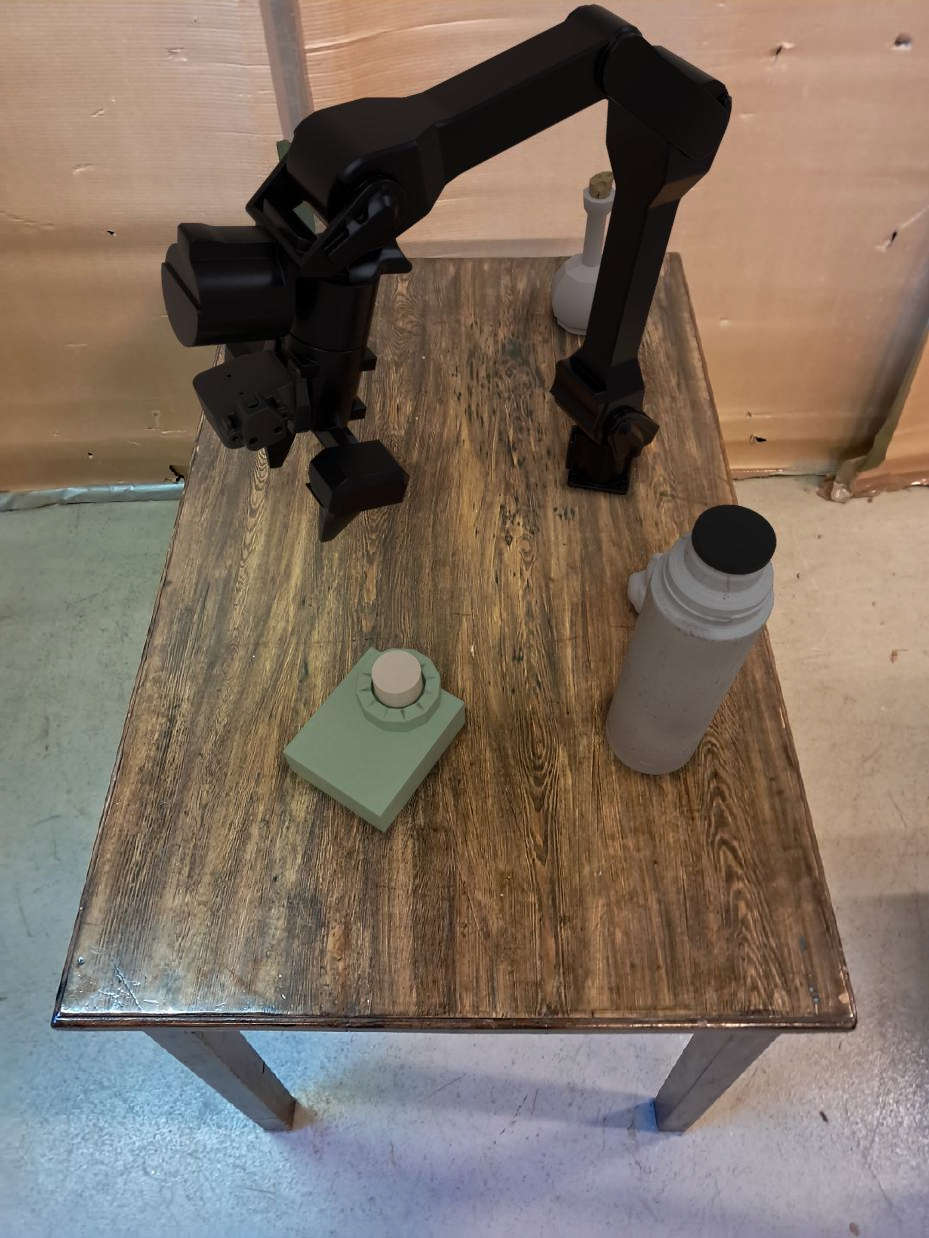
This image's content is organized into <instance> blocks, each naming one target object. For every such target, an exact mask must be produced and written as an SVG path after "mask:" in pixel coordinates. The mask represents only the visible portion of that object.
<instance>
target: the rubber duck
mask: <svg viewBox="0 0 929 1238" xmlns="http://www.w3.org/2000/svg"><path fill="white" fill-rule="evenodd" d="M664 553H665V552H655V553H653V554H652V555H651V557H650V560H649V561H648V562H647V566H646V569H644V570H641V571H637V572H633V573H632V574H631V575H630V576H629V578H628V583H627V597H628V600H629V601H630V603H631V604H632V605H633V607H634V610H635V612H636V613H638V614H639V613H640V610H641V608H642V605H643V601H644V598H645V594H646V590H647V586H648V582H649V579H650V576H651V573H652V570H653V568H654V566H655V564H656V562H657V561H658V559H659V558H660V557H661V556H662V555H663V554H664Z"/></svg>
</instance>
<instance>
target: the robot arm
mask: <svg viewBox="0 0 929 1238" xmlns="http://www.w3.org/2000/svg"><path fill="white" fill-rule="evenodd" d="M604 100H606V101H607V111H606V126H605V147H606V151H607V155H608V159H609V164H610V169H611V172H612V173H613V177H614V180H613V182H614V187H615V188H614V190H615V196H614V200H613V205H612V210H611V212H610V215H609V220H608V225H607V230H606V235H605V239H604V243H603V248H602V253H601V255H602V258H601V263H600V268H599V273H598V277H597V282H596V287H595V292H594V297H593V301H592V306H591V311H590V316H589V321H588V325H587V330H586V335H584V340H583V343H582V345H581V346H579V347H578V348H577V349H576V350H575V351H574V352H572V353H571V354H570V355H569V356H567V358H564V359H559V360H558V361H556V363H555V364H554V365H555V366H554V367H555V370H554V379H553V383H552V386H551V387H550V388H549V393H550V394H551V395H552V396H553V400H554V403H555V404H556V405H557V407H559V409H560V410H561V411H562V412H564V414H566V416H567V417H569V419H570V420H572V422H574V424H572V425H571V426H570V431H569V437H568V441H567V449H566V455H565V464H564V468H565V470H568V473H567V479H566V485H567V486H568V487H569V488H575V489H583V490H590V491H597V492H602V493H610V494H614V495H615V494H616V495H627V494H628V493H629V488H630V480H631V475H632V474H631V473H632V466H633V462H634V458H635V459H636V458H638V457H640V456H641V455H642V451H643V449H644V448H645V447H647V446H649V445H651V444H652V443H653V441H654V439H655V437H656V436H657V434H658V432H659V430H660V428H661V427H660V425H659V424H658V423H657V422H656V421H655V420H654V419H653V418H652V417H650V415H648V414H647V413H646V412H645V411H644V410H643V406H644V400H645V393H646V384H645V380H644V375H643V372H642V367H641V364H640V359H639V350H640V347H641V344H642V339H643V337H644V332H645V328H646V325H647V322H648V318H649V316H650V315H649V314H650V311H651V308H652V307H651V306H652V304H653V300H654V295H655V293H656V289H657V285H658V282H659V278H660V275H661V270H662V267H663V263H664V260H665V256H666V252H667V248H668V245H669V241H670V237H671V234H672V230H673V227H674V223H675V219H676V217H677V213H678V209H679V205H680V202H681V200H682V199H683V197H684V196H685V195H687V193H689V192H690V191H691V190H692V189H693V188H694V187H695V186H696V185H697V184H698V183H699V182H700V181H701V180H702V179H703V178H704V177H705V176H706V175H707V174H708V173H709V172H710V170H711V168H712V166H713V163H714V161H715V159H716V156H717V154H718V150H719V148H720V146H721V145H722V141H723V139H724V137H725V134H726V131H727V129H728V126H729V124H730V120H731V115H732V109H733V97H732V95H730V94H729V91H728V89H727V86H726V83H725V84H724V83H723V82H722V81H721V80H719V79H717V78H715V77H714V76H712V75H711V74H709V73H707V72H705V71H704V70H703V69H701V68H699V67H698V66H696V65H694V64H692V63H691V62H689V61H688V60H686V59H684V58H683V57H681V56H679V55H677V54H676V53H674V52H672V51H671V50H669V49H667V48H666V47H664V46H662V45H659V44H658V45H657V44H656V45H655V44H654V45H652V44H651V43H650V42H649V41H648V40H647V39H646V38H645V37H644V36H643V33H642V32H641V30H640V29H639V28H638V27H637V26H635V24H632V23H631V22H629V21H627V20H625V19H624V18H622V17H621V16H618V15H617V14H615V13H614V12H613V11H610V10H609V9H607V8H606V7H604V6H602V5H599V4H596V3H592V4H582V5H578V6H577V7H575V8H574V9H573V10H572V11H571V12H569V13H568V15H567V16H566V18H565V19H564V20H563V21H562V22H559V23H557V24H555V25H554V26H552V27H549V28H548V29H546V30H543V31H542V32H540V33H538V34H535V35H533V36H531V37H530V38H527V39H525V40H524V41H522V42H520V43H517V44H516V45H514V46H512V47H509V48H507V49H505V50H502V51H501V52H500V53H497V54H495V55H493V56H492V57H490V58H488V59H485V60H483V61H482V62H480V63H477V64H476V65H474V66H471V67H469V68H467V69H466V70H464V71H462V72H459V73H457V74H455V75H453V76H451V77H450V78H447V79H445V80H444V81H442V82H440V83H438V84H435V85H433V86H432V87H430V88H428V89H426V90H424V91H421V92H418V93H414V94H411V95H407V96H364V97H360V98H357V99H353V100H349V101H346V102H343V103H339V104H335V105H331V106H326V107H324V108H320V109H317V110H315V111H313V112H311V113H310V114H308V116H306V117H304V118H303V119H302V120H301V121H300V122H299V123H298V124H297V126H296V127H295V128H294V130H293V138H292V140H291V143H290V145H289V147H288V150H287V151H286V152H285V154H284V155H283V156H282V158H281V159H280V160H279V161H278V163H277V164H276V165H275V167H274V168H273V169H272V171H271V172H270V173H269V174H268V176H267V177H266V178H265V179H264V180H263V182H262V183H261V184H260V186H259V187H258V189H257V190H256V191H255V192H254V194H253V195H252V196H251V197H250V199H249V200H248V201H247V202H246V204H245V207H244V209H245V212H246V213H247V214H248V216H249V217H250V218H251V219H252V220H253V222H255V223H254V225H211V224H207V223H203V222H180V223H179V224H178V225H177V226H176V227H177V231H176V242H174V243H171V244H170V245H169V246H168V248H167V250H166V253H165V258H164V262H161V263H160V266H161V267H160V280H161V289H162V298H163V302H164V307H165V311H166V314H167V318H168V321H169V324H170V326H171V329H172V331H173V334H174V335H175V337H176V339H177V341H178V342H179V343H180V344H181V345H182V346H183V347H185V348H188V349H189V348H201V347H210V346H211V347H212V346H223V345H224V347H225V348H224V360H223V361H224V362H222V363H220V364H218V365H215V366H212V367H211V368H208V369H205V370H203V371H201V372H199V373H197V374H196V375H195V376H194V377H193V379H192V383H191V384H192V387H193V389H194V391H195V395H196V397H197V399H198V401H199V405H200V407H201V410H202V412H203V414H204V417H205V419H206V421H207V423H208V424H210V426H211V428H212V429H213V431H214V432H215V434H216V435H217V437H218V439H219V440H220V442H221V444H222V445H223V446H224V447H225V448H227V449H229V450H239V449H242V448H246V449H247V450H248V451H250V452H258V451H261V450H264V454H265V457H266V463H267V466H268V468H269V469H270V470H274V469H280V468H282V467H283V465H284V463H285V461H286V459H287V457H288V456H289V454H290V452H291V449H292V447H293V444H294V442H295V440H296V437H297V435H299V434H304V433H308V432H310V431H311V433H312V434H313V436H314V437H315V438H316V439H317V441H318V442H319V443H320V444H321V446H322V447H323V448H322V449H321V450H320V451H319V452H318V453H317V454H315V456H314V457H312V458H311V459H310V460H309V464H308V470H307V475H308V479H309V482H305V483H304V485H305V487H306V488H307V490H308V491H309V492H310V494H311V495H312V496H313V498H314V500H315V501H316V502H317V504H318V519H317V521H318V522H317V523H318V525H317V531H318V532H317V534H318V541H319V542H320V543H321V544H324V543H328V542H332V541H334V540H335V538H337V537H338V535H339V534H340V533H342V531H344V530H345V529H346V528H347V526H349V524H350V523H352V522H353V520H355V519H356V518H357V517H358V516H359V515H360V514H361V513H362V512H367V511H371V510H375V509H380V508H384V507H385V508H386V507H389V506H390V507H391V506H394V505H398V504H402V503H404V500H405V498H406V494H407V491H408V487H409V485H410V479H411V475H410V474H409V473H408V471H406V469H405V468H404V466H403V465H402V464H401V463H400V461H399V460H398V459H397V457H395V456H394V454H393V452H391V450H390V449H389V448H388V446H386V444H384V443H383V442H382V441H381V440H380V439H379V438H376V439H371V440H366V441H360V440H359V438H358V437H357V436H356V434H355V433H354V431H353V430H352V429H351V428H350V427H349V426H348V425H349V422H352V421H359V420H365V419H366V416H367V415H366V414H367V409H368V406H367V405H366V404H365V402H364V401H363V400H362V399H361V397H359V396H358V393H359V388H360V383H361V378H362V373H363V372H371V371H376V367H377V362H378V356H377V355H376V354H375V352H373V350H372V349H371V348H370V347H369V345H368V342H369V337H370V333H371V327H372V324H373V323H372V322H373V318H374V312H375V308H376V304H377V303H376V302H377V297H378V292H379V287H380V282H381V278H382V276H384V275H385V276H386V275H403V274H405V275H406V274H409V273H411V272H412V271H413V263H412V261H410V260H409V259H408V257H406V255H405V253H404V252H403V251H402V249H401V247H400V246H399V243H398V241H397V238H399V237H400V236H401V235H403V234H404V233H405V232H407V231H408V230H409V229H411V228H412V227H413V226H414V225H416V224H418V223H419V222H421V221H422V220H423V219H424V218H425V217H427V216H428V215H429V214H430V212H431V211H432V209H433V208H434V206H435V204H436V203H437V201H438V199H440V198H439V197H440V196H441V195H442V193H443V191H444V189H445V187H446V186H447V185H448V184H449V183H451V182H453V181H454V180H455V179H456V178H458V177H459V176H460V175H462V174H463V173H466V172H468V171H469V170H472V169H473V168H475V167H477V166H479V165H481V164H483V163H485V162H487V161H489V160H491V159H492V158H495V157H496V156H498V155H500V154H502V153H504V152H506V151H508V150H510V149H512V148H514V147H516V146H518V145H519V144H522V143H523V142H525V141H527V140H529V139H530V138H533V137H535V136H536V135H538V134H540V133H542V132H544V131H546V130H548V129H550V128H552V127H554V126H555V125H557V124H560V123H561V122H563V121H565V120H567V119H569V118H570V117H572V116H574V115H577V114H578V113H580V112H582V111H584V110H586V109H588V108H590V107H592V106H593V105H595V104H597V103H600V102H602V101H604ZM302 204H304V205H305V206H306V207H307V209H309V211H310V212H311V213H312V214H313V215H314V216H315V217H316V218H317V219H318V220H319V221H320V222H321V223H322V225H324V227H325V229H324V230H323V231H321V232H318V233H315V232H314V231H313V230H312V229H311V228H310V226H309V225H308V224H307V223H306V222H305V221H304V220H303V219H302V218H301V217H300V216H299V215H298V214H297V212H296V211H295V210H294V209H296V208H297V207H299V206H301V205H302Z"/></svg>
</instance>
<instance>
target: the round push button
mask: <svg viewBox="0 0 929 1238" xmlns="http://www.w3.org/2000/svg"><path fill="white" fill-rule="evenodd" d="M371 674H372V680H373V684H374V689H375V693H376V696H377V697H378V699H379V700H380V701H381V702H382V703H384V704H386V705H388V706H391V707H404V706H407V705H410V704H411V703H413V702H414V701H415V700H416V699H417V698H418V697H419V695H420V694H421V691H422V676H421V667H420V664H419V662H418V660H417V659H416V658H415V657H414V656H413V655H412V654H410V653H408V652H405V651H400V650H394V651H389V652H386V653H384V654H383V655H381V656H380V657H379V658H378V659H377V660H376V661H375V663H374V665H373V667H372V673H371Z"/></svg>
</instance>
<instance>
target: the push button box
mask: <svg viewBox="0 0 929 1238" xmlns="http://www.w3.org/2000/svg"><path fill="white" fill-rule="evenodd" d="M394 650H400V651H405V652H408V653H410V654H412V655H413V656H414V657H415V658H416V659H417V660H418V662H419V664H420V667H421V676H422V691H421V694H420V695H419V697H418V698H417V699H416V700H415V701H414V702H413V703H411V704H410V705H407V706H404V707H391V706H388V705H386V704H384V703H382V702H381V701H380V700H379V699H378V697H377V696H376V693H375V689H374V684H373V680H372V674H371V673H372V667H373V665H374V663H375V661H376V660H377V659H378V658H379V657H380V656H381V655H383V654H384V653H386V652H389V651H394ZM441 680H442V678H441V675H440V673H439V671H438V669H437V668H436V666H435V663H434V661H433V660H432V659H431V658H430V657H427V656H426V655H424V654H423V653H421V652H419V651H417V650H416V649H413V648H401V647H400V648H399V647H398V648H397V647H390V648H388V649H386V650H383V651H379V650H378V649H376V648H374V647H373V646H370V647H369V648H368V649H367V650H366V652H364V654H363V655H362V657H361V658H360V659H359V660H358V661H357V663H356V664H355V665H354V666H353V667H352V668H351V669H350V670H349V672H348V673H347V675H345V676H344V678H343V679H342V680H341V681H340V682H339V684H338V685H337V686H336V687H335V689H334V690H333V691H332V692H331V693H330V695H329V696H328V697H327V698H326V699H325V700H324V702H322V704H321V705H320V706H319V707H318V708H317V710H316V711H315V712H314V713H313V715H312V716H311V717H310V718H309V719H308V720H307V722H306V723H305V724H304V725H303V726H302V728H301V729H300V730H299V731H298V732H297V734H296V735H294V737H293V738H292V739H291V741H290V742H289V743H288V744H287V745H286V747H284V749H283V750H282V753H283V755H284V757H285V758H286V761H287V763H288V766H289V767H290V770H291V771H292V772H294V773H295V774H297V775H298V776H300V777H301V778H302V779H304V780H305V781H307V782H308V783H310V784H311V785H312V786H314V787H316V788H317V789H319V790H320V791H322V792H323V793H325V794H326V795H328V796H329V797H330V798H332V799H333V800H335V801H336V802H337V803H339V804H341V805H342V806H344V807H345V808H347V809H348V810H350V811H351V812H352V813H354V814H356V815H357V816H358V817H360V818H361V819H363V820H364V821H366V822H367V823H368V824H370V825H372V826H373V827H375V828H376V829H377V830H379V831H381V832H382V833H386V832H387V830H388V829H389V828H390V826H391V825H392V823H393V822H394V821H395V819H396V818H397V817H398V815H399V814H400V812H401V811H402V810H403V808H404V807H405V806H406V804H407V803H408V802H409V800H410V799H411V797H412V796H413V795H414V793H415V792H416V790H418V788H419V787H420V785H421V784H422V783H423V781H424V780H425V778H426V777H427V776H428V774H429V773H430V772H431V770H432V769H433V768H434V767H435V765H436V763H437V762H438V760H439V759H441V757H442V755H443V754H444V753H445V751H446V750H447V748H448V747H449V746H450V744H451V743H452V742H453V740H454V739H455V738H456V736H457V735H458V733H459V732H460V730H461V729H462V728H463V726H464V725H465V723H466V702H465V701H463V700H461V699H460V698H459V697H456V696H455V695H453V694H452V693H450V692H448V691H447V690H445V689H443V688H442V681H441Z"/></svg>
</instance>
